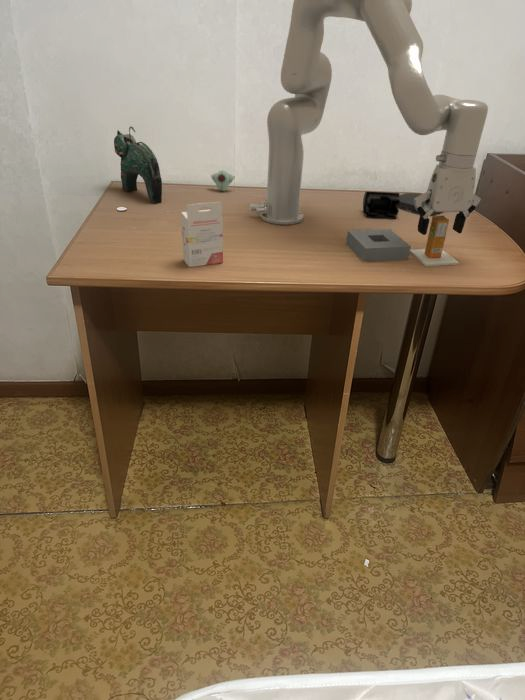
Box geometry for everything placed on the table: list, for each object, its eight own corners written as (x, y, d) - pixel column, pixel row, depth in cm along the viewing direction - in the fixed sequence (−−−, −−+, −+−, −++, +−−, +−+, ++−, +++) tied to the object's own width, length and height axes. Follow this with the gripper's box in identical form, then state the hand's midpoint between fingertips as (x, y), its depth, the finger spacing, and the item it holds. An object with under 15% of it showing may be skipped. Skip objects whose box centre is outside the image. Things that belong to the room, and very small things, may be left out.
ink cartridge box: (216, 255, 126) (216, 195, 118) (223, 263, 123) (223, 201, 114) (182, 259, 123) (179, 198, 115) (188, 268, 119) (186, 205, 111)
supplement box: (422, 253, 132) (431, 215, 127) (435, 253, 133) (444, 215, 127) (428, 258, 129) (437, 219, 124) (441, 258, 130) (451, 219, 125)
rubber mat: (425, 266, 127) (426, 264, 126) (408, 252, 134) (409, 249, 134) (458, 264, 129) (458, 262, 128) (439, 250, 136) (440, 248, 136)
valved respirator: (235, 190, 172) (235, 169, 168) (233, 194, 168) (234, 172, 165) (211, 188, 172) (211, 167, 168) (209, 192, 169) (209, 171, 165)
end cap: (393, 212, 161) (397, 190, 158) (398, 219, 155) (402, 197, 152) (361, 210, 161) (364, 188, 157) (365, 218, 155) (368, 195, 151)
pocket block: (363, 261, 127) (365, 248, 125) (345, 243, 137) (347, 230, 135) (407, 259, 130) (410, 246, 128) (387, 241, 140) (390, 229, 138)
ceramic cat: (116, 189, 166) (109, 122, 155) (134, 186, 170) (128, 120, 159) (150, 205, 155) (145, 134, 144) (168, 202, 158) (165, 132, 147)
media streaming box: (412, 198, 175) (414, 189, 174) (452, 209, 167) (454, 200, 165) (388, 206, 167) (390, 197, 165) (428, 219, 158) (430, 209, 157)
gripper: (431, 164, 113) (414, 239, 123) (499, 164, 117) (478, 236, 127) (415, 156, 119) (400, 228, 129) (481, 156, 123) (462, 225, 133)
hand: (439, 232), depth 128 cm, fingers open, 9 cm apart
